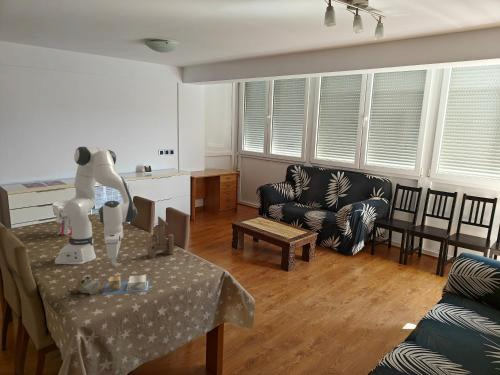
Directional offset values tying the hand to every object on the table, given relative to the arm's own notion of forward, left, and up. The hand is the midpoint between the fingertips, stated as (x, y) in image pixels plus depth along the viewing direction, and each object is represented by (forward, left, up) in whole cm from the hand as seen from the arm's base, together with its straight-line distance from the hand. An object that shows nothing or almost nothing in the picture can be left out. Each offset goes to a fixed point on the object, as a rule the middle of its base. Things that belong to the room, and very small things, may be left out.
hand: (115, 260), depth 178 cm
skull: (-45, +95, -16) cm, 106 cm away
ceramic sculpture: (-14, -1, -16) cm, 21 cm away
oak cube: (-1, 0, -15) cm, 15 cm away
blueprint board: (+5, 0, -16) cm, 16 cm away
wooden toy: (+21, +45, -16) cm, 52 cm away
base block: (+10, 0, -15) cm, 18 cm away
